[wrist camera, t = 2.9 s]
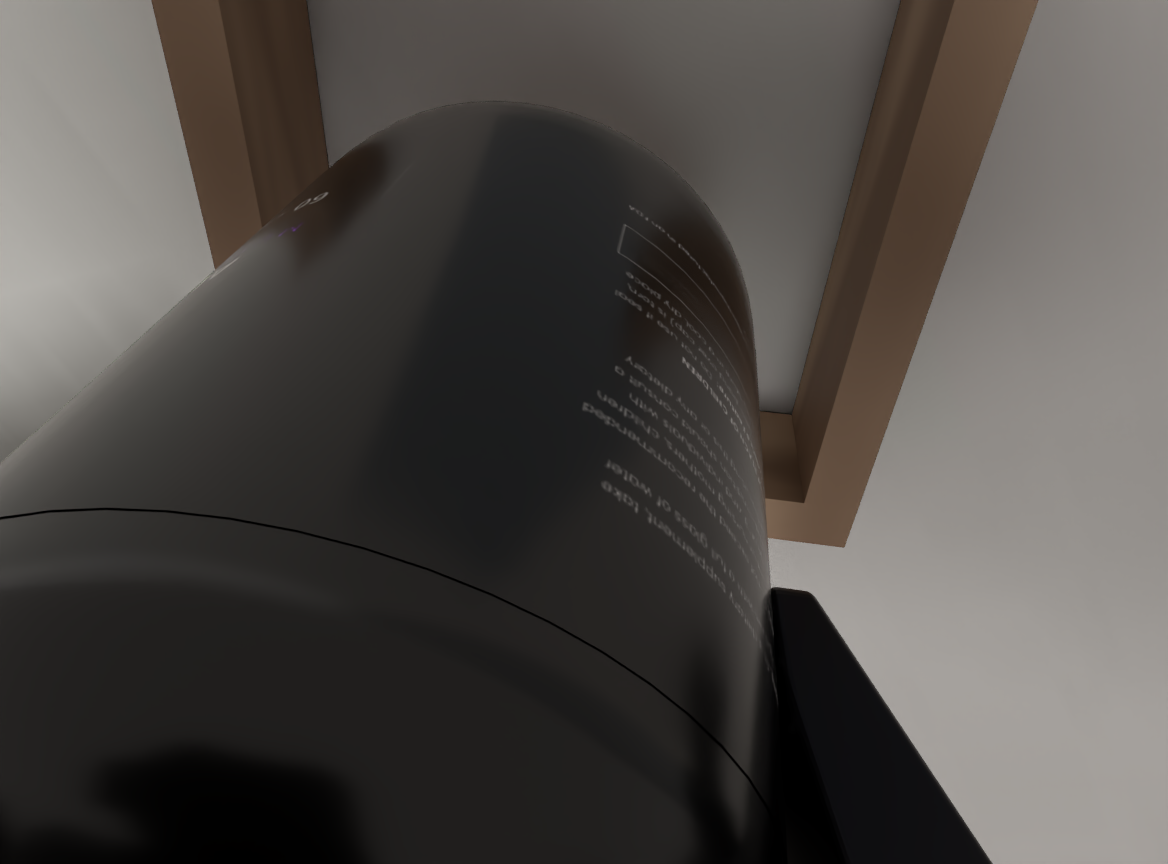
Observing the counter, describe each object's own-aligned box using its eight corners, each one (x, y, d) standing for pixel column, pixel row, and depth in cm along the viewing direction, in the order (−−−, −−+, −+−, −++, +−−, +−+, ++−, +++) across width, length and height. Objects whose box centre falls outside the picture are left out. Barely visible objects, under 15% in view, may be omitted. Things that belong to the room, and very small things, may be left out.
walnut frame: (1006, -128, 14) (1080, -118, 11) (827, 456, 22) (844, 547, 19) (219, -187, 15) (106, -191, 12) (317, 394, 23) (263, 472, 20)
